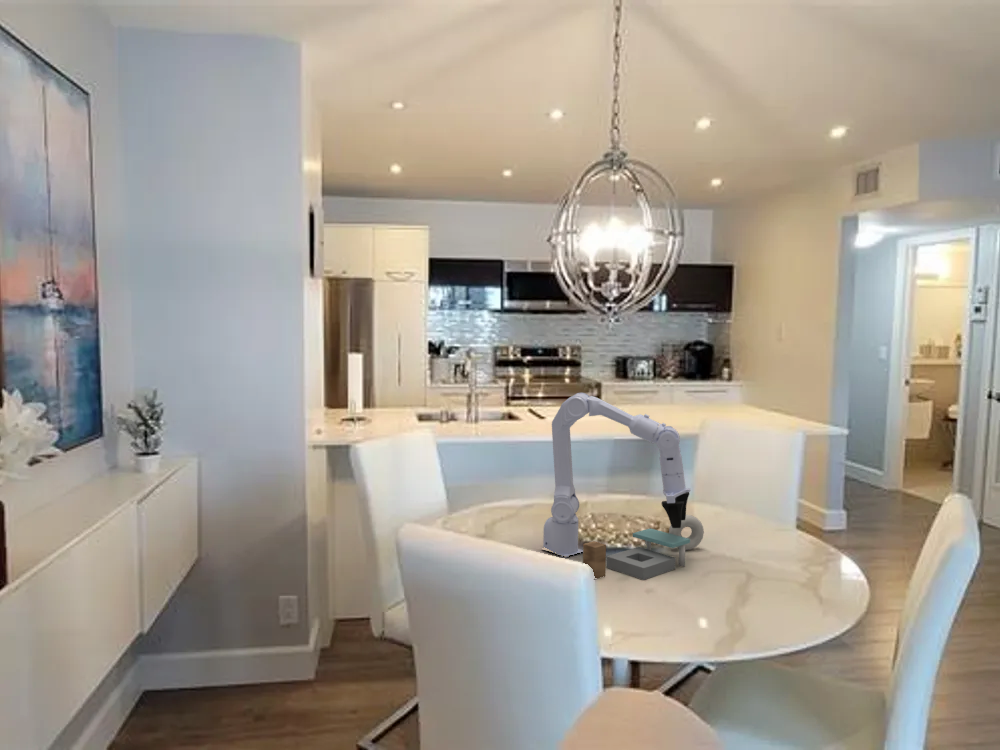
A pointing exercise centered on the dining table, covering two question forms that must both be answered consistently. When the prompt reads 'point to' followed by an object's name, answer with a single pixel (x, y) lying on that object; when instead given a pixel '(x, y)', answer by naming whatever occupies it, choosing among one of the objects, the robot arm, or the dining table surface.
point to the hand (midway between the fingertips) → (678, 523)
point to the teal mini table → (664, 541)
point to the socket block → (640, 563)
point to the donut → (695, 528)
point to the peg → (595, 557)
